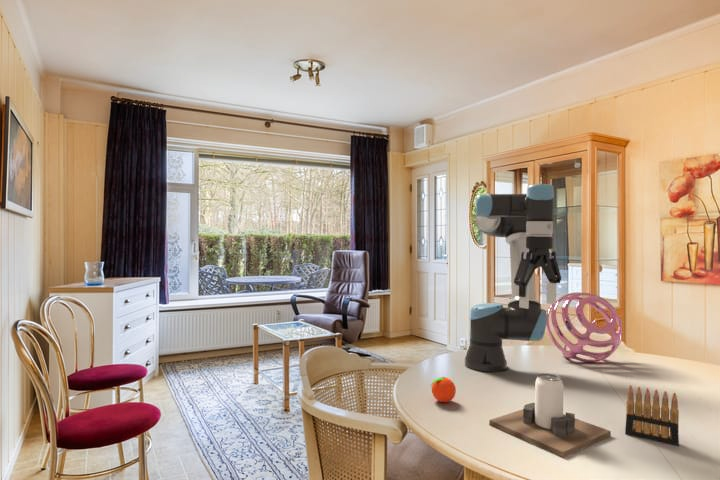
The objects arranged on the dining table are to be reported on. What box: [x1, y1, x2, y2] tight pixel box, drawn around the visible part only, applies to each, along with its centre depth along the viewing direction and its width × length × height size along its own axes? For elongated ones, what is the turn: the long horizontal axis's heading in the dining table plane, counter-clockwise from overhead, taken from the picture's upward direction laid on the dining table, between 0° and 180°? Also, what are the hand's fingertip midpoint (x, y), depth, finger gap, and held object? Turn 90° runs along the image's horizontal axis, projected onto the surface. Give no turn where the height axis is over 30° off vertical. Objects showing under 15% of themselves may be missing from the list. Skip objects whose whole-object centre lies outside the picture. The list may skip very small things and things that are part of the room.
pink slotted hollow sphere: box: [545, 291, 623, 363], centre depth 178 cm, size 28×28×27 cm
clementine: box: [429, 376, 457, 403], centre depth 128 cm, size 8×7×7 cm
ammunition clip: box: [624, 384, 680, 447], centre depth 106 cm, size 11×2×12 cm, turn 56°
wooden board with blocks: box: [488, 402, 612, 458], centre depth 109 cm, size 20×20×5 cm
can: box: [534, 373, 564, 430], centre depth 110 cm, size 6×6×12 cm
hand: (537, 305), depth 134 cm, fingers open, 13 cm apart
